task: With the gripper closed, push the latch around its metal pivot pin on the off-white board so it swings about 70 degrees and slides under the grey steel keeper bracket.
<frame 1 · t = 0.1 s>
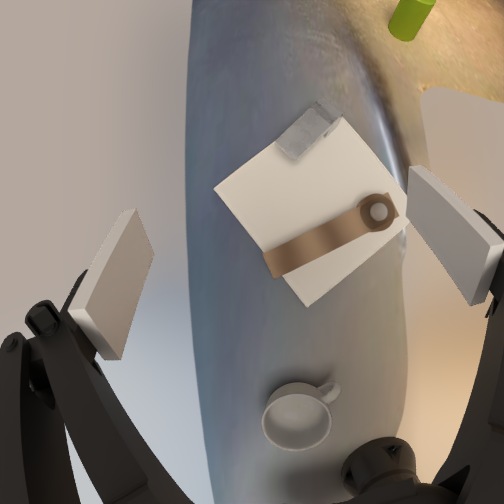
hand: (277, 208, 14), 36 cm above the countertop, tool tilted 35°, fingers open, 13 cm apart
base board: (319, 200, 49), on the countertop
keeper: (299, 149, 50), resting on base board
soap dispenser: (401, 29, 48), on the countertop
latch: (332, 234, 46), point 4 cm above the countertop, hinge at 78.0°
teacup: (302, 397, 50), on the countertop
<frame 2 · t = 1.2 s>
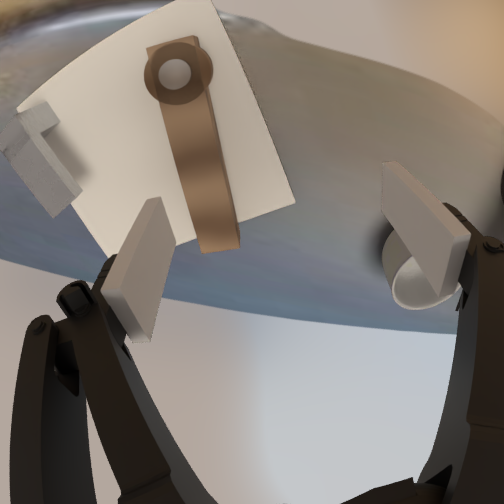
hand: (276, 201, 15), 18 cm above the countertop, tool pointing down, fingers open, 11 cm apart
base board: (148, 141, 30), on the countertop
keeper: (75, 154, 30), resting on base board
latch: (197, 151, 28), point 4 cm above the countertop, hinge at 78.0°
teacup: (408, 230, 38), on the countertop
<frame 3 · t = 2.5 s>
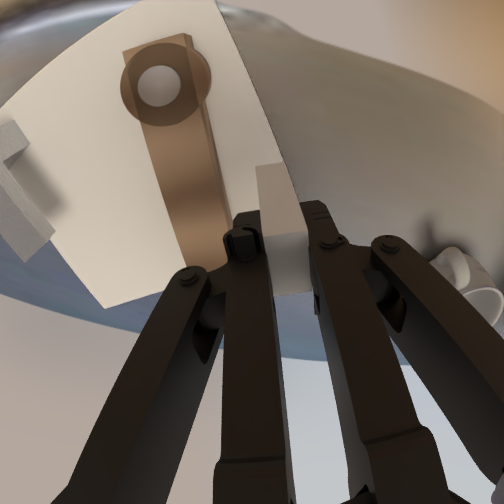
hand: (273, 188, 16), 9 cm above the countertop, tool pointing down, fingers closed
base board: (133, 167, 25), on the countertop
keeper: (50, 181, 25), resting on base board
latch: (191, 183, 22), point 4 cm above the countertop, hinge at 78.0°
teacup: (435, 266, 32), on the countertop
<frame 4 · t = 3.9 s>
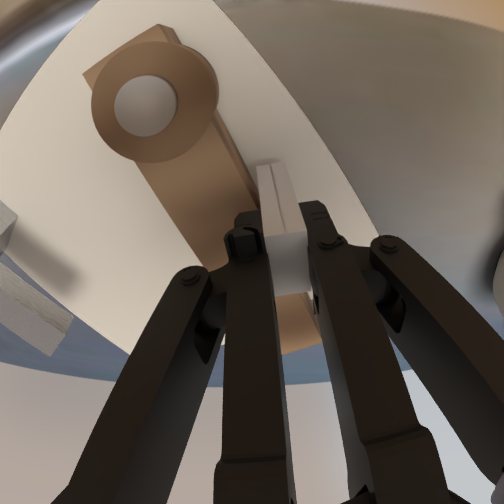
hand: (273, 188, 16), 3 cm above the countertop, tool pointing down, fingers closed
base board: (148, 214, 20), on the countertop
keeper: (57, 251, 22), resting on base board
latch: (227, 225, 17), point 4 cm above the countertop, hinge at 77.8°, touching gripper
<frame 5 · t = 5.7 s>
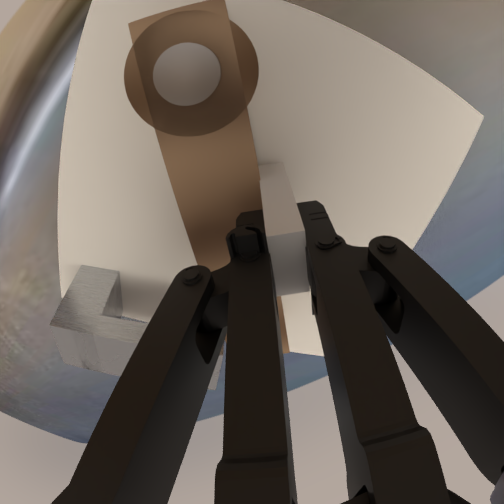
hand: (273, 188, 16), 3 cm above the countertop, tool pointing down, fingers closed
base board: (248, 197, 20), on the countertop
keeper: (176, 286, 24), resting on base board
latch: (227, 217, 16), point 4 cm above the countertop, hinge at 29.2°, touching gripper
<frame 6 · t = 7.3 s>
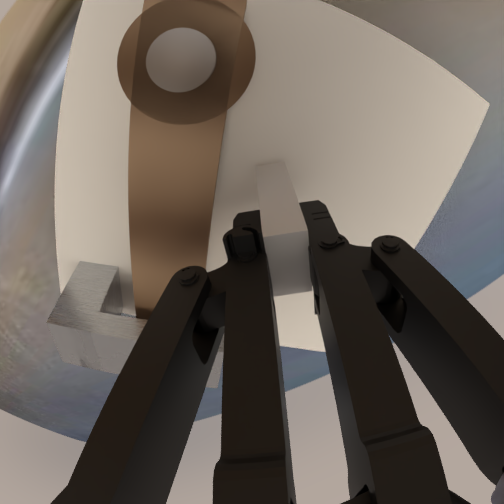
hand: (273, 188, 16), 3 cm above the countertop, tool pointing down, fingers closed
base board: (249, 188, 19), on the countertop
keeper: (177, 282, 23), resting on base board
latch: (172, 210, 16), point 4 cm above the countertop, hinge at 8.1°
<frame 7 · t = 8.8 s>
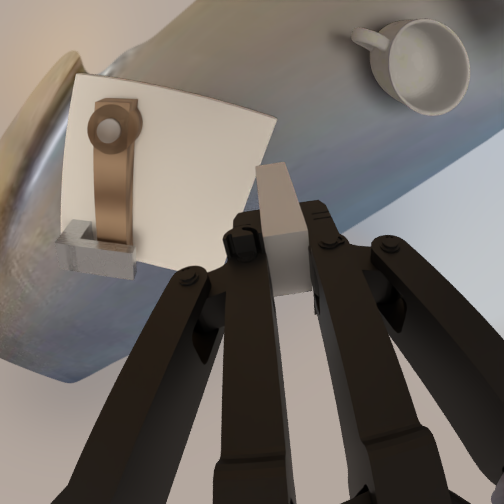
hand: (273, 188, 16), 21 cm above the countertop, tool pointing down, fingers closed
base board: (151, 179, 38), on the countertop
keeper: (122, 231, 41), resting on base board
latch: (112, 189, 34), point 4 cm above the countertop, hinge at 8.1°
teacup: (388, 55, 30), on the countertop
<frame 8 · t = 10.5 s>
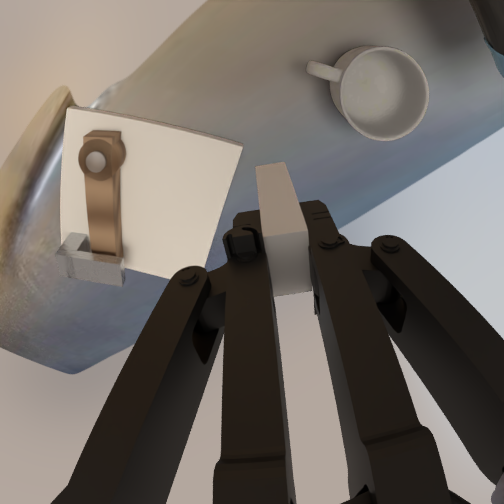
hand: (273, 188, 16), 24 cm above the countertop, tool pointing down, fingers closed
base board: (137, 199, 43), on the countertop
keeper: (114, 242, 47), resting on base board
latch: (102, 209, 39), point 4 cm above the countertop, hinge at 8.1°
teacup: (351, 79, 34), on the countertop
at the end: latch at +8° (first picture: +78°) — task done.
